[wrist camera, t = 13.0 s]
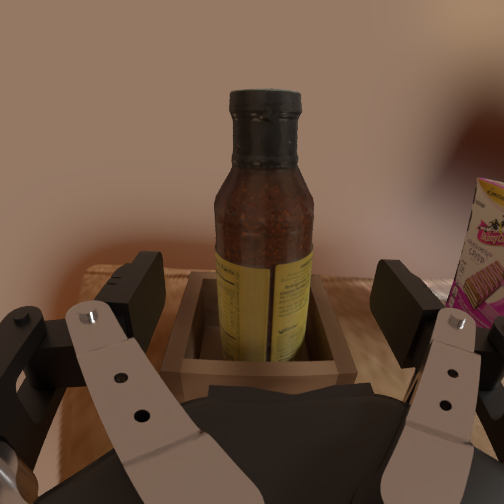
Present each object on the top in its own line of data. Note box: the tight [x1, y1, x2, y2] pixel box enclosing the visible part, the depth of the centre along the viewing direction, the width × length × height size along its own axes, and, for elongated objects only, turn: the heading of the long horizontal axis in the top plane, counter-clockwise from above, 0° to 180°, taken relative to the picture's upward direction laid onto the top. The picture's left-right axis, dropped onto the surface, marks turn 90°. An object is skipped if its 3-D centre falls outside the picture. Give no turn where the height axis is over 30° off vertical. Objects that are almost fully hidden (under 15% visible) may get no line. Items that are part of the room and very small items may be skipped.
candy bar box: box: [446, 178, 504, 329], centre depth 26 cm, size 11×5×16 cm, turn 1°
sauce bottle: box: [214, 89, 314, 362], centre depth 21 cm, size 6×6×20 cm
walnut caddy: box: [160, 271, 358, 404], centre depth 24 cm, size 14×14×6 cm
